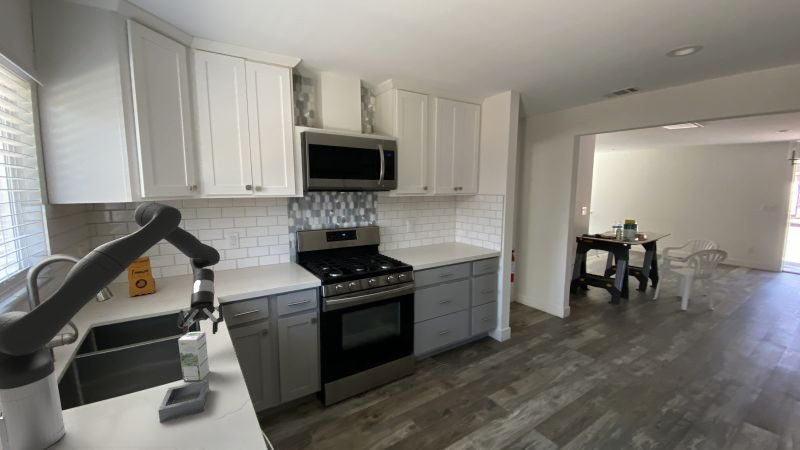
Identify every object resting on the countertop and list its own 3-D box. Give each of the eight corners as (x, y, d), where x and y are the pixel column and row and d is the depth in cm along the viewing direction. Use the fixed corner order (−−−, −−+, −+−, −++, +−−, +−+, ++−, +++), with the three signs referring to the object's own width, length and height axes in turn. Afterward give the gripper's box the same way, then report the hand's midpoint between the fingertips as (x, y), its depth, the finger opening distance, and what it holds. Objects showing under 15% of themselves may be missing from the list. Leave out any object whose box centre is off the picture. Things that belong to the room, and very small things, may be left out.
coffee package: (155, 294, 189) (151, 257, 186) (128, 298, 182) (123, 260, 180) (157, 289, 197) (153, 254, 195) (131, 293, 191) (126, 257, 188)
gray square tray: (159, 422, 86) (158, 410, 86) (170, 399, 95) (168, 388, 95) (203, 411, 90) (202, 399, 89) (209, 390, 99) (208, 379, 99)
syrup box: (210, 370, 110) (206, 330, 108) (200, 381, 104) (196, 338, 102) (192, 371, 109) (188, 331, 107) (182, 382, 103) (177, 339, 102)
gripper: (178, 292, 118) (173, 336, 109) (222, 287, 124) (221, 328, 115) (183, 301, 124) (179, 343, 115) (225, 296, 129) (224, 335, 120)
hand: (200, 335), depth 115 cm, fingers open, 8 cm apart
